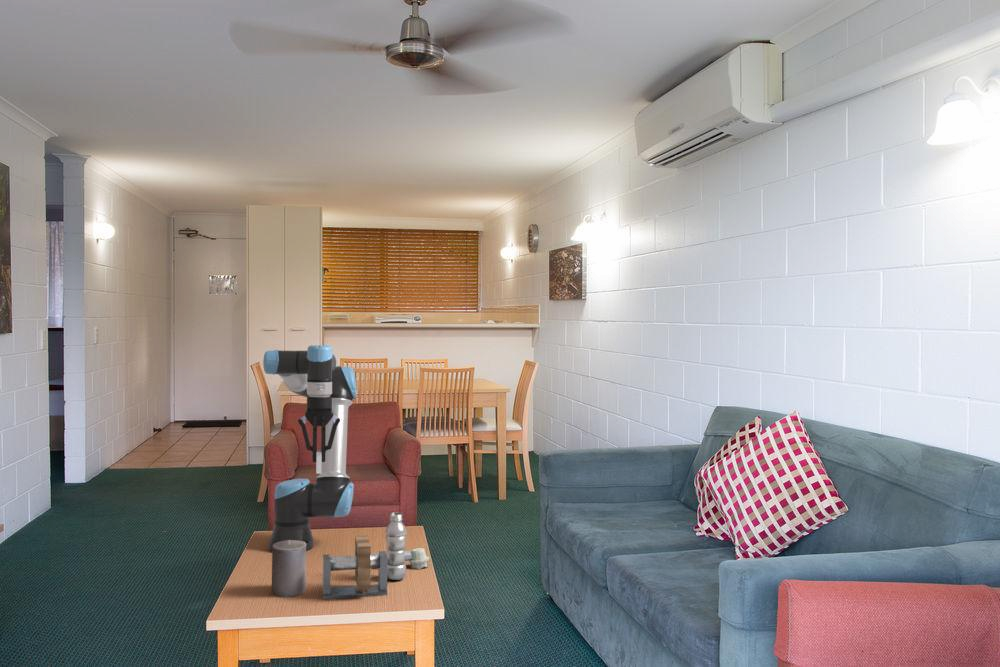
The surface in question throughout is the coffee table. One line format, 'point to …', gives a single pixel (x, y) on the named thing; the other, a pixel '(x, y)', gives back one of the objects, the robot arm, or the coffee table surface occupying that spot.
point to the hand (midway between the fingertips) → (318, 472)
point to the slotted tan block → (363, 562)
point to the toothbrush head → (416, 558)
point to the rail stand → (351, 564)
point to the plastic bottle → (396, 547)
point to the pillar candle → (288, 568)
